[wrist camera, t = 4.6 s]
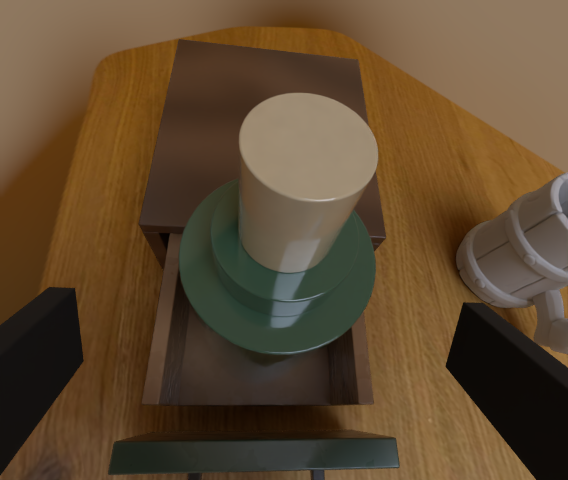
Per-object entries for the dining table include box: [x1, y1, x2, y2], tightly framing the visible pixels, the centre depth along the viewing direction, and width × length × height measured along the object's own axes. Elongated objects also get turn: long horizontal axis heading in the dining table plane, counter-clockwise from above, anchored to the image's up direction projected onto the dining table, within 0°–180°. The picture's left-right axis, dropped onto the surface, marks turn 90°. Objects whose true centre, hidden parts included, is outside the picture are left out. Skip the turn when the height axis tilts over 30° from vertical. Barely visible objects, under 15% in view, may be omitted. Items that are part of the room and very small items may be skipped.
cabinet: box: [139, 39, 386, 271], centre depth 26 cm, size 16×14×9 cm
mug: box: [456, 173, 568, 354], centre depth 24 cm, size 8×12×12 cm, turn 9°
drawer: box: [108, 233, 400, 480], centre depth 20 cm, size 19×13×7 cm
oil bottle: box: [178, 93, 378, 384], centre depth 15 cm, size 7×7×18 cm
